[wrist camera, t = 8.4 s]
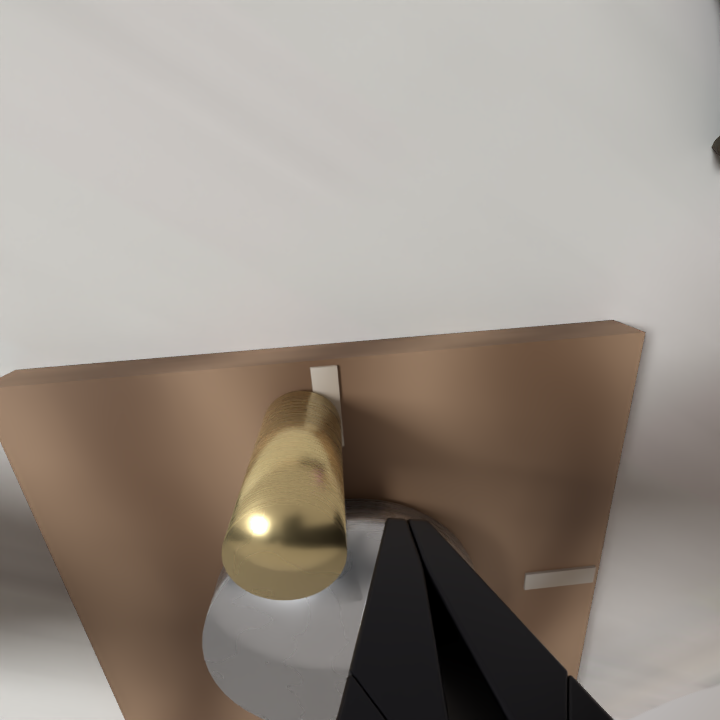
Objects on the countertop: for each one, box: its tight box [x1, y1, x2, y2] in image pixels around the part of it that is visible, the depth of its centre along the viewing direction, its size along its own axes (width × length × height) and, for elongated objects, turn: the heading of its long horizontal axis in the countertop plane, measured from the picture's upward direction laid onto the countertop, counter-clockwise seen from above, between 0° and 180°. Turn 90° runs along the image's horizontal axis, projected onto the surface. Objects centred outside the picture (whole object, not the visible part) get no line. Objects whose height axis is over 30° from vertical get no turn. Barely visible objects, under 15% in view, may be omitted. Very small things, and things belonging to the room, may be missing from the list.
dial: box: [202, 391, 476, 720], centre depth 12 cm, size 14×10×5 cm
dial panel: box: [0, 320, 645, 720], centre depth 16 cm, size 20×20×2 cm
